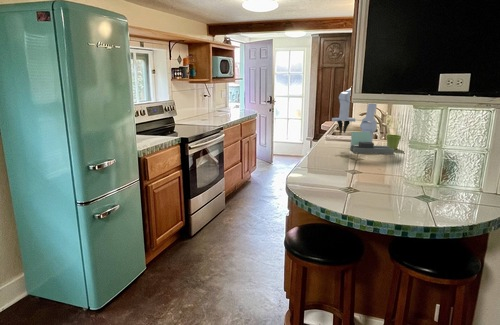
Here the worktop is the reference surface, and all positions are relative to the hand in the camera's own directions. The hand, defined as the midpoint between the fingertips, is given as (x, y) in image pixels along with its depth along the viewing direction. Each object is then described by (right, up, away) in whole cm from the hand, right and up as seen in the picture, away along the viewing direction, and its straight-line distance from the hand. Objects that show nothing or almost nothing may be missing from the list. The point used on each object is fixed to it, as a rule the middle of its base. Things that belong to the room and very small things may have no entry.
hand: (342, 132), depth 219 cm
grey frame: (+17, -12, -5) cm, 21 cm away
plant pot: (+34, -10, +4) cm, 36 cm away
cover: (+11, -4, -3) cm, 12 cm away
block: (+13, -13, -6) cm, 19 cm away
